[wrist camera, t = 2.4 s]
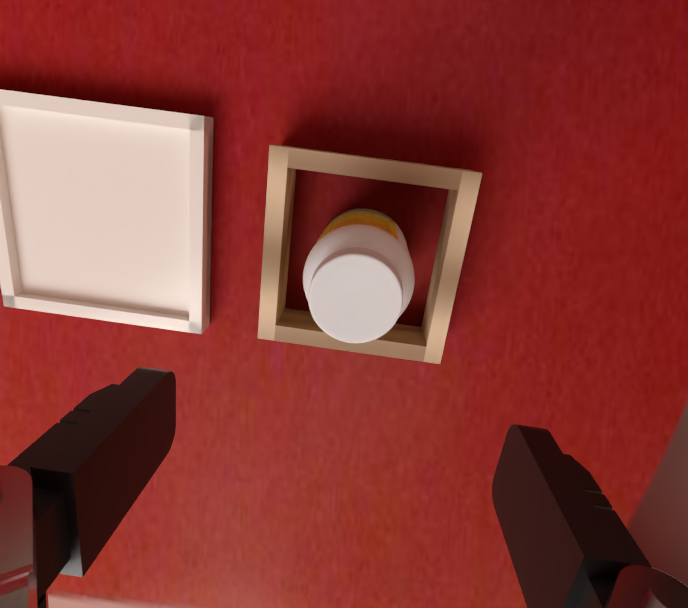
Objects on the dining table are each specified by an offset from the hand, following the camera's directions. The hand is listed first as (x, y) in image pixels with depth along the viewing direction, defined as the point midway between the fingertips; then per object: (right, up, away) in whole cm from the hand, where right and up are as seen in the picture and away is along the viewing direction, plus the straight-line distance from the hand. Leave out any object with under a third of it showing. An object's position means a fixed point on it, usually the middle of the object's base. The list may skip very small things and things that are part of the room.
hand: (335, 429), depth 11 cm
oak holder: (+1, +6, +17) cm, 18 cm away
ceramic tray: (-15, +8, +17) cm, 24 cm away
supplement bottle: (+1, +6, +17) cm, 18 cm away
